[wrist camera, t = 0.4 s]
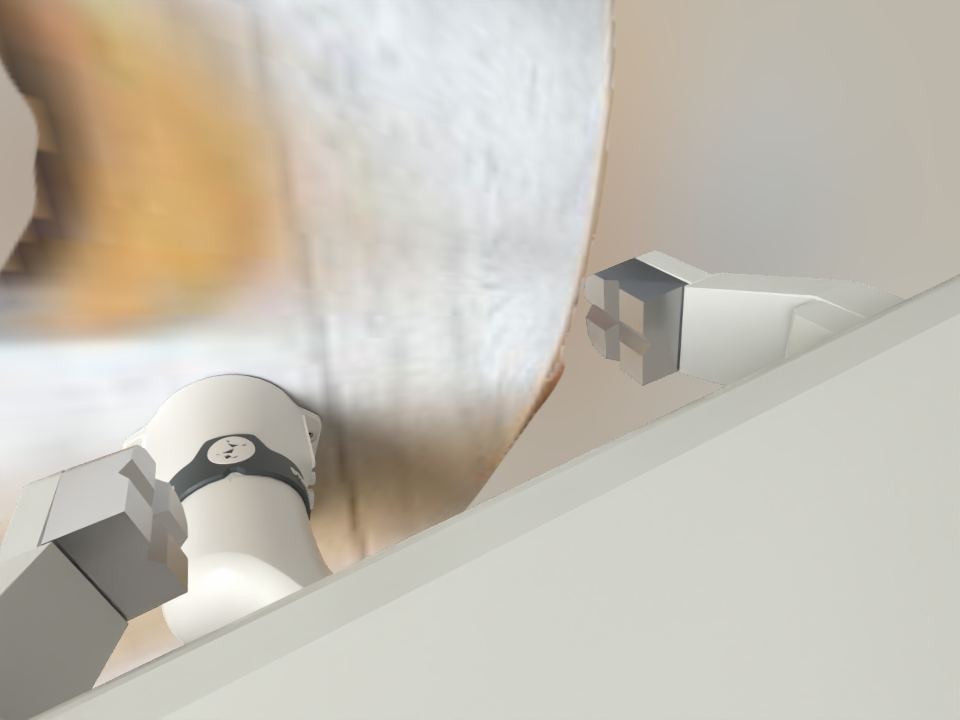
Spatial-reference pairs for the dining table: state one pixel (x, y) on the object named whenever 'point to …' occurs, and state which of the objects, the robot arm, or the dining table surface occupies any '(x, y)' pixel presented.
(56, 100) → the dining table surface
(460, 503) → the dining table surface
